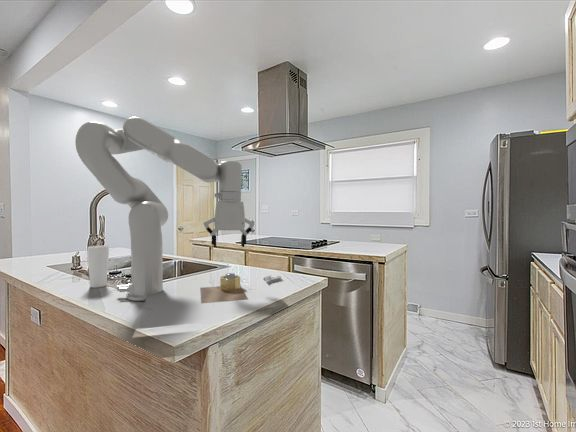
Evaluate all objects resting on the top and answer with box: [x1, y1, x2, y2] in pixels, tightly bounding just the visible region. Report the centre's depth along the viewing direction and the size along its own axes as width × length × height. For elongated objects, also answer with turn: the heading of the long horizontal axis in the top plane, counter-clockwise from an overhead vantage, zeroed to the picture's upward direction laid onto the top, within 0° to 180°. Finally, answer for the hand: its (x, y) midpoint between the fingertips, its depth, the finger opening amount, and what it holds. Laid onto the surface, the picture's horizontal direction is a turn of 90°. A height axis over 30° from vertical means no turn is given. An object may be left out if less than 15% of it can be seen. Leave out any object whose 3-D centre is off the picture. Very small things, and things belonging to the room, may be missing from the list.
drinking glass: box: [86, 244, 110, 289], centre depth 113 cm, size 7×7×15 cm
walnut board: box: [200, 285, 249, 304], centre depth 100 cm, size 14×18×2 cm
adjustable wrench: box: [263, 275, 282, 285], centre depth 116 cm, size 25×6×2 cm, turn 154°
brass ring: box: [219, 274, 241, 291], centre depth 106 cm, size 7×7×4 cm
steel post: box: [225, 272, 236, 279], centre depth 106 cm, size 3×3×5 cm
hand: (228, 246), depth 105 cm, fingers open, 9 cm apart
